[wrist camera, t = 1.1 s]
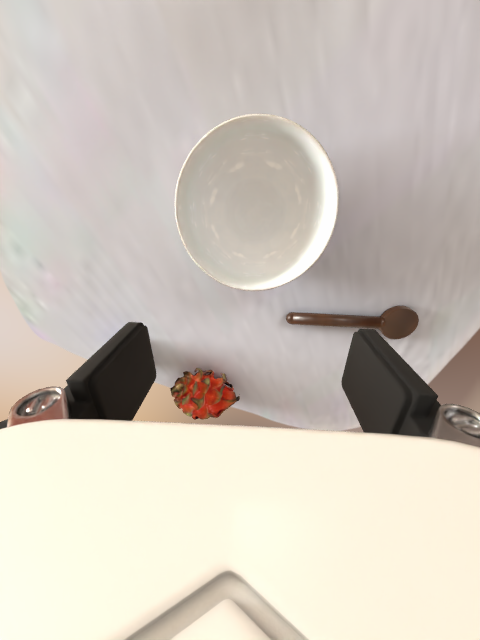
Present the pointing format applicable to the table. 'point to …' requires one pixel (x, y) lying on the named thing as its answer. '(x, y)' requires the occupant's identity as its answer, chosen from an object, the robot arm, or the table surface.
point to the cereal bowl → (256, 202)
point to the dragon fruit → (203, 394)
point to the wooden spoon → (364, 321)
